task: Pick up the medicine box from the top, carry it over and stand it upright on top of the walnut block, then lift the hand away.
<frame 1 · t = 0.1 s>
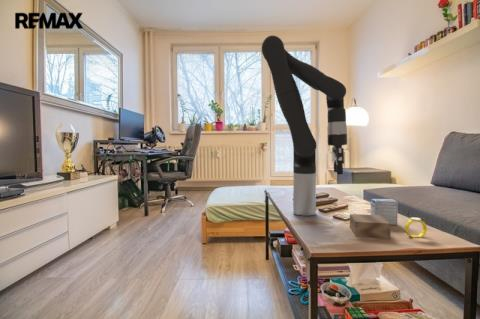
hand: (338, 173, 111), 17 cm above the table, tool pointing down, fingers open, 8 cm apart
medicine box: (383, 223, 100), on the table
walnut block: (368, 233, 89), on the table
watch: (415, 237, 85), on the table
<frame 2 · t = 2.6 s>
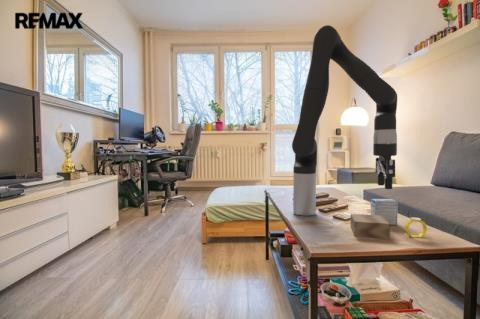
hand: (384, 187, 99), 13 cm above the table, tool pointing down, fingers open, 8 cm apart
nothing on the table moved.
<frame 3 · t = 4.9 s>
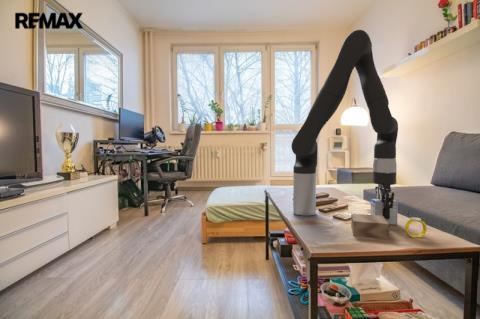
hand: (383, 216, 99), 2 cm above the table, tool pointing down, fingers closed on medicine box, 4 cm apart
medicine box: (383, 223, 100), on the table, touching gripper
everything else where it was.
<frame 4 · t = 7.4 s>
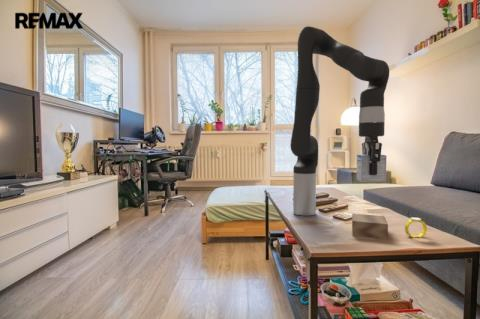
hand: (370, 173, 89), 19 cm above the table, tool pointing down, fingers closed on medicine box, 4 cm apart
medicine box: (370, 181, 89), point 17 cm above the table, touching gripper
everything else where it was.
when the fingers open (9 cm above the table, at t = 10.3 s): medicine box drops 2 cm, resting on walnut block.
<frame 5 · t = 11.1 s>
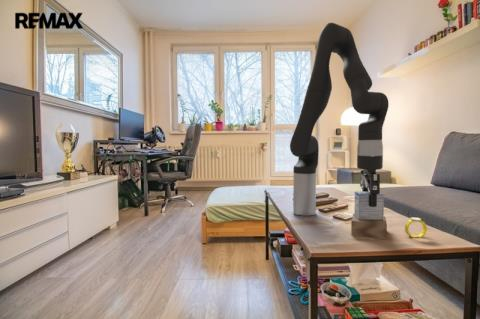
hand: (369, 203, 89), 10 cm above the table, tool pointing down, fingers open, 8 cm apart
medicine box: (368, 219, 89), point 4 cm above the table, touching walnut block
walnut block: (368, 233, 89), on the table, touching medicine box
everything else where it was.
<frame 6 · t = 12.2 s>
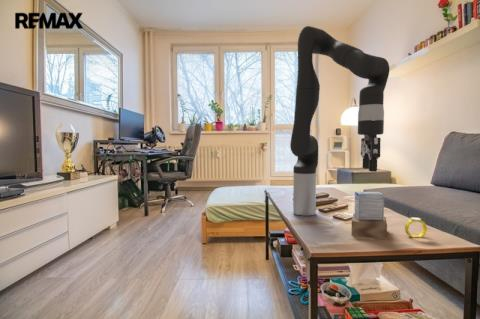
hand: (369, 170, 88), 21 cm above the table, tool pointing down, fingers open, 8 cm apart
nothing on the table moved.
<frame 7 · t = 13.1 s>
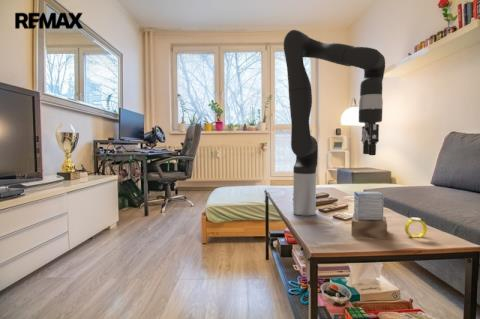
hand: (369, 154, 97), 25 cm above the table, tool pointing down, fingers open, 8 cm apart
medicine box: (368, 219, 89), point 4 cm above the table
walnut block: (368, 233, 89), on the table
everything else where it was.
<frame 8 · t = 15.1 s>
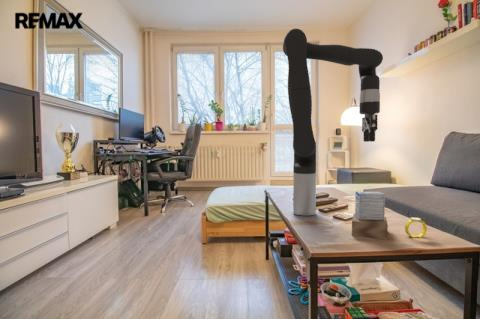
hand: (369, 141, 112), 30 cm above the table, tool pointing down, fingers open, 8 cm apart
medicine box: (369, 219, 89), point 4 cm above the table, touching walnut block
walnut block: (369, 233, 89), on the table, touching medicine box
everything else where it was.
at the end: medicine box 0.1 cm off-centre on the walnut block, point 4.8 cm above the walnut block's base; medicine box tilted 0°; the gripper is holding nothing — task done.
